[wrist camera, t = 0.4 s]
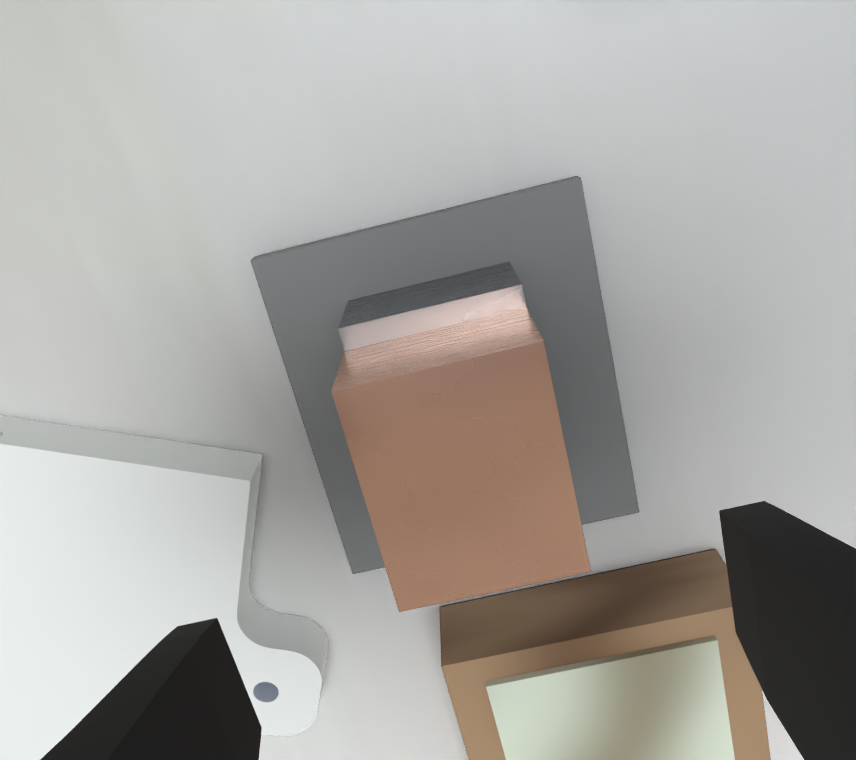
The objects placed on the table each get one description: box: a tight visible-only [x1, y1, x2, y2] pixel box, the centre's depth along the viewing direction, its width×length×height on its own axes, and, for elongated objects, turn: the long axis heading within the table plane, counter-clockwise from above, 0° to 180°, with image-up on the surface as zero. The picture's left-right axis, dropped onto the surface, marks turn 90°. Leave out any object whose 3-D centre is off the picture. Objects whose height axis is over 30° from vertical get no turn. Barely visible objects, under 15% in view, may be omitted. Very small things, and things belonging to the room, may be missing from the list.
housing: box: [331, 261, 591, 612], centre depth 17 cm, size 4×6×5 cm, turn 14°
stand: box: [440, 549, 771, 760], centre depth 22 cm, size 8×9×3 cm
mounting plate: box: [0, 415, 328, 760], centre depth 22 cm, size 18×13×2 cm
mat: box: [251, 176, 639, 574], centre depth 20 cm, size 8×9×1 cm
